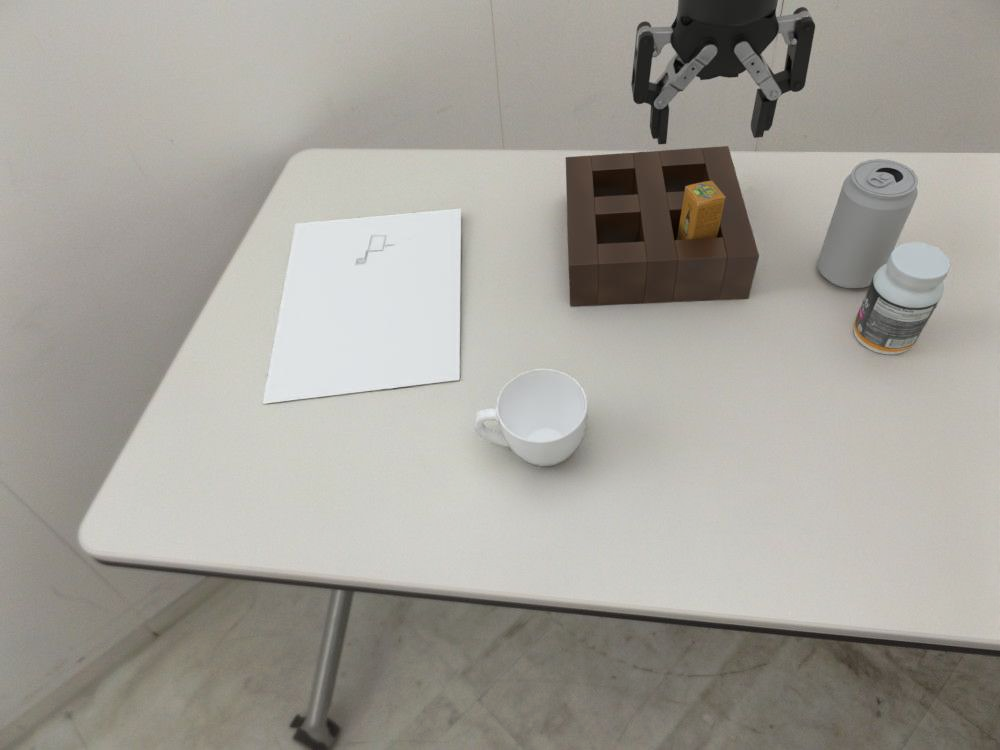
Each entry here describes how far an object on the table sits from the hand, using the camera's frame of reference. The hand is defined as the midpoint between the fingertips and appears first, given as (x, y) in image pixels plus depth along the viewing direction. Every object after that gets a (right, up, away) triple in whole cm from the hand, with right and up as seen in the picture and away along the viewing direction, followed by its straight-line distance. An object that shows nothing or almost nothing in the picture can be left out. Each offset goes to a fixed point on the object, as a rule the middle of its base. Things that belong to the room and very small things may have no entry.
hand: (708, 136), depth 63 cm
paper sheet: (-34, -14, +15) cm, 39 cm away
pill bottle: (+18, -18, +4) cm, 26 cm away
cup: (-16, -29, 0) cm, 33 cm away
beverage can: (+18, -11, +10) cm, 23 cm away
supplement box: (+2, -10, +13) cm, 16 cm away
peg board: (-2, -7, +15) cm, 17 cm away
